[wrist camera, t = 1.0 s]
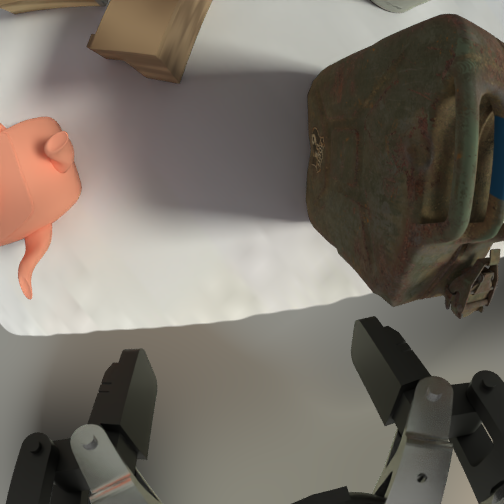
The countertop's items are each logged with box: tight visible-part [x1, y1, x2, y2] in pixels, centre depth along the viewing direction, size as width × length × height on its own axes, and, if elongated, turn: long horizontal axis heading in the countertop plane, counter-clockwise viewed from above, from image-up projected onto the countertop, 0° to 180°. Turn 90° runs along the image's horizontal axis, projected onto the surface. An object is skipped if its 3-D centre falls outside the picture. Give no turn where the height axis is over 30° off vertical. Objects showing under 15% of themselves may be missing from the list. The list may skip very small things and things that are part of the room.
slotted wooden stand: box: [87, 0, 212, 84], centre depth 19 cm, size 13×10×15 cm
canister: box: [306, 14, 504, 319], centre depth 22 cm, size 19×8×25 cm, turn 0°
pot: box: [0, 117, 82, 299], centre depth 24 cm, size 18×17×12 cm
